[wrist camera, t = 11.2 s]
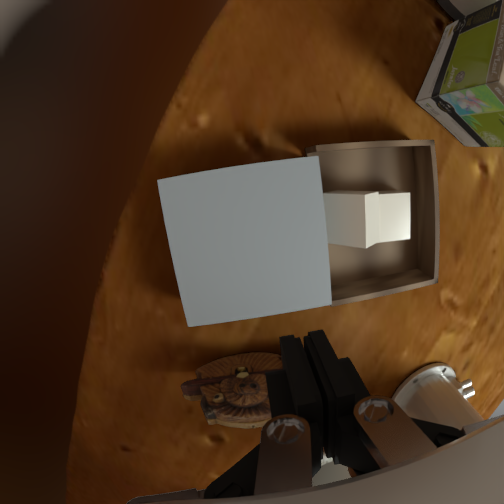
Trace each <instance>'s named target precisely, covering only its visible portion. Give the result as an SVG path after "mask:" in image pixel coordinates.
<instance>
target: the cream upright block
mask: <svg viewBox="0 0 504 504" xmlns="http://www.w3.org/2000/svg"><path fill="white" fill-rule="evenodd" d="M323 199H324V208H325V218H326V229H327V240H328V243H330V244H337V245H344V246H351V247H358V248H365V249H366V248H368V247H370V246H372V245H374V244H376V243H378V242H379V193H378V192H374V191H343V190H336V191H330V192H325V193H323Z"/></svg>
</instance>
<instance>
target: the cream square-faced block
mask: <svg viewBox="0 0 504 504" xmlns="http://www.w3.org/2000/svg"><path fill="white" fill-rule="evenodd" d="M374 192H378V193H379V242H378V243H380V242H389V241H397V240H406V239H410V193H409V192H404V191H399V190H390V191H374Z"/></svg>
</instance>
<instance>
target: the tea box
mask: <svg viewBox="0 0 504 504" xmlns="http://www.w3.org/2000/svg"><path fill="white" fill-rule="evenodd" d="M416 103H417V104H419V105H420V106H421V107H422V108H423V109H425V110H426V111H427V112H428V113H429V114H431V115H432V116H433V117H434V118H435V119H436V120H437V121H439V122H440V123H441V124H442V125H443V126H444V127H445V128H446V129H447V130H449V131H450V132H451V133H452V134H453V135H454V136H455V137H456V138H457V139H458V140H459V141H460V142H461V143H462V144H463V145H464V146H473V147H504V0H499V1H497V2H495V3H493V4H491V5H488V6H486V7H484V8H482V9H480V10H478V11H475V12H473V13H471V14H469V15H467V16H465V17H464V18H462V19H459V20H457V21H455V22H453V23H451V24H450V25H448V26H446V28H445V31H444V33H443V36H442V39H441V41H440V44H439V46H438V49H437V51H436V54H435V56H434V59H433V61H432V64H431V66H430V68H429V71H428V73H427V76H426V78H425V80H424V82H423V85H422V87H421V89H420V92H419V94H418V96H417V99H416Z"/></svg>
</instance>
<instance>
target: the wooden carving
mask: <svg viewBox="0 0 504 504" xmlns="http://www.w3.org/2000/svg"><path fill="white" fill-rule="evenodd" d="M277 370H283V365H282V357H281V356H280V355H278V354H273V353H267V352H266V353H263V352H256V353H254V352H251V353H243V354H237V355H233V356H228V357H224V358H221V359H217V360H215V361H212V362H210V363H207V364H205V365H203V366H201V367H199V368H198V369H197V370H196V371H195V372H196V375H197V379H194V380H189V381H186V382H184V383H183V384H181V389H182V391H183V397H184V398H186V399H187V400H190V401H198V400H201V407H202V410H203V412H204V415H205V418H206V420H207V422H208V424H209V425H213V424H216V423H218V424H221V425H224V426H228V427H238V428H246V429H248V428H257V427H263V426H264V425H265V423H266V422H267V421H269V420H270V419H272V417H271V410H270V404H269V397H268V390H267V383H266V376H265V372H271V371H277Z"/></svg>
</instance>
